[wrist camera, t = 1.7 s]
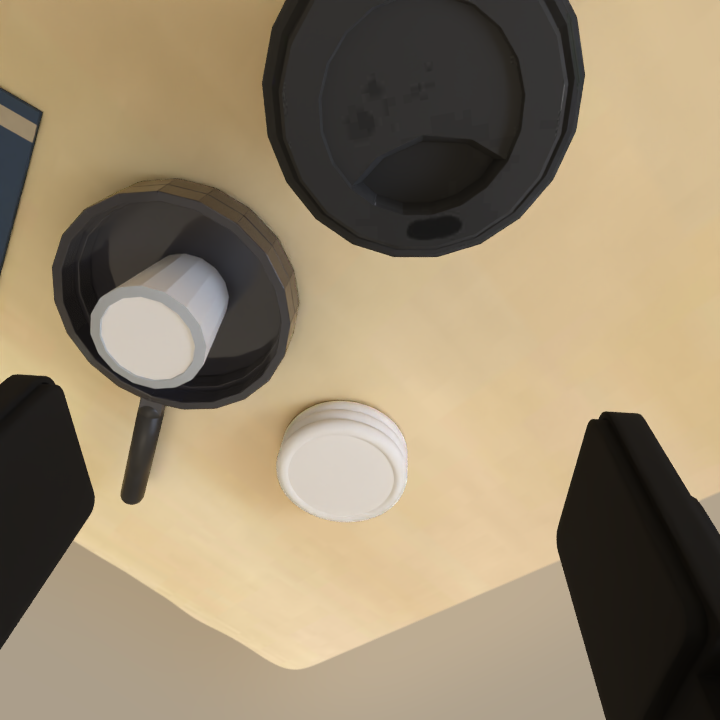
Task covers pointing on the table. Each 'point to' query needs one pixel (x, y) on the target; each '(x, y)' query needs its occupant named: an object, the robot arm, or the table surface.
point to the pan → (197, 238)
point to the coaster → (343, 462)
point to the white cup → (161, 321)
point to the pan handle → (142, 450)
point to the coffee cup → (421, 114)
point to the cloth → (14, 158)
